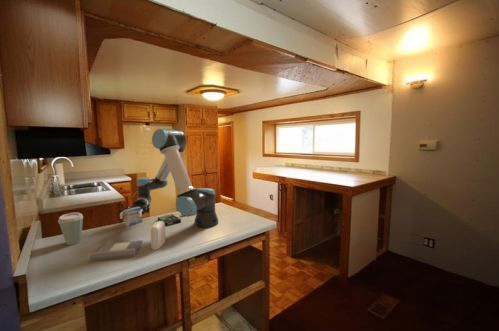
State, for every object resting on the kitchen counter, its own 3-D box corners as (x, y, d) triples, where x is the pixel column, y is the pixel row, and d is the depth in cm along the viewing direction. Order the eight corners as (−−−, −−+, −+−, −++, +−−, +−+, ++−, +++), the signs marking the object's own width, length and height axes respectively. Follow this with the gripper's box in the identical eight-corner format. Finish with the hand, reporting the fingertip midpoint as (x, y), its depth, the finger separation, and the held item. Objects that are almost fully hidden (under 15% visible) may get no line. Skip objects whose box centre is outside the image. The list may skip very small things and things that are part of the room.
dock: (142, 242, 120) (142, 236, 120) (134, 256, 105) (134, 249, 105) (104, 246, 116) (104, 240, 116) (91, 261, 101) (90, 254, 101)
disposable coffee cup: (88, 241, 121) (86, 214, 120) (63, 249, 113) (60, 220, 111) (81, 236, 128) (79, 210, 126) (57, 243, 119) (54, 215, 118)
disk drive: (181, 223, 150) (172, 217, 161) (181, 219, 149) (171, 213, 160) (166, 227, 143) (157, 221, 154) (165, 223, 142) (157, 217, 153)
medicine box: (128, 226, 122) (127, 210, 121) (124, 225, 124) (123, 209, 123) (142, 222, 128) (141, 207, 127) (137, 220, 131) (136, 206, 130)
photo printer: (158, 241, 122) (157, 218, 120) (166, 241, 122) (165, 218, 120) (150, 250, 111) (148, 225, 110) (158, 250, 111) (157, 225, 110)
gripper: (159, 209, 146) (151, 220, 124) (122, 212, 141) (108, 224, 119) (158, 197, 145) (151, 207, 123) (121, 200, 140) (107, 210, 118)
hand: (130, 215), depth 121 cm, fingers closed on medicine box, 8 cm apart
